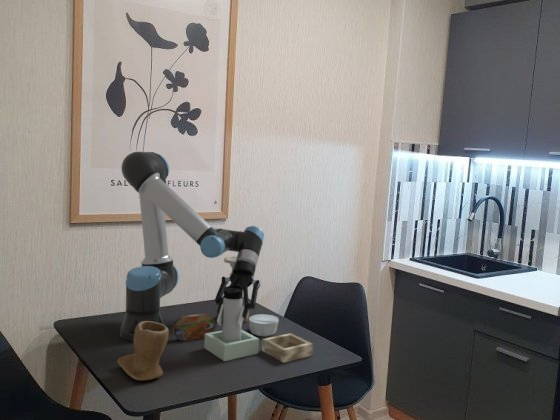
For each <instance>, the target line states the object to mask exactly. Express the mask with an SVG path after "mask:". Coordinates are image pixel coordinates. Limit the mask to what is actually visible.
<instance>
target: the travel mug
mask: <svg viewBox="0 0 560 420" xmlns="http://www.w3.org/2000/svg"><path fill="white" fill-rule="evenodd" d="M242 294H243V288H242V287H240V285H234V286H229V285H228V286H226V287H225V288H224V294H223V296H224V299H223V321H222V330H221V331H222V341H223V342H225V343H226V344H227V343H232V342H237V341H241V329H242V326H241V328H239V327H238V325H237V322H238V319H239V315H240V311H241V308H242V306H243V303H242V301H244V295H242Z"/></svg>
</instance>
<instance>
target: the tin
mask: <svg viewBox="0 0 560 420" xmlns="http://www.w3.org/2000/svg"><path fill="white" fill-rule="evenodd" d="M215 330H216V321H215V319H214V317H213V316H211V315H209V314H207V313H198V314H191V315H183V316H180V317H178V318H177V319H175V321H174V323H173V325H172V332H173V335H174V336H175V337H176V339H178V340H179V341H182V342H183V341H184V342H185V341H187V342H188V341H192V340H194V341H195V340H201V339H205V334H206V333H211V332H215Z"/></svg>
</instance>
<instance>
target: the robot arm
mask: <svg viewBox="0 0 560 420" xmlns="http://www.w3.org/2000/svg"><path fill="white" fill-rule="evenodd" d="M121 173H122V176H123V178H124V179H125V181H126V182H127V184H129V185H130V186H131V187H132V188H133V189H134V191H136V192H137V193H138V196H139V205H140V207H139V208H140V217H141V226H142V228H141V229H142V236H143V237H142V238H143V249H144V258H143V260H142V261H141V263H140V264H141V266H139V267H137V266H136V267H134V268H131V269H130V270H129V271H128V272H127V274H126V279H125V315H124V317H123V320H122V324H121V326H120V332H119V336H120V338H121V339H123V340H125V341H130V342H133V340H134V333H135V328H136V326H137V324H139V323H140V322H142V321H153V322H157V323H161V324H163V325H164V321H163V319H162V316H161V310H160V309H161V298H162V297H164V296H166V295H167V294H168V295H169V294H170V293H171V292H172V291H173V290H174V289H175V288H176V287H177V285H178V282H179V272H178V269H177V267H175V265H174V259H173V257H172V256H170V255H169V247H168V246H169V245H168V237H167V224H166V216H168V218H170V220H172V221H173V223H175V225H177V226H178V227H179V228H180V229H181V230H182V231H184V233H186V234H187V235H188V237H190V238H191V239H192V240H193V241H194V242H195V243H196V244H197V245H198V246H199V247H200V251H201V253H202V255H203V256H204V257H206V258H210V259H213V258H217V257H219V256H221V255H223V254H224V253H226V252H227V251H229V252H236V253H237V254H236V255H237V256H236V257H237V258H236V263H235V265H234V268H233V272H232V271H231V272H232V275H231V276H230V275H229V276H228V277H226V276H222V277H221V284H220V285H219V288H218V290H217V293H216V295H215V299H214V302H215V304H216V305H217V310H216V313H217V319H216V322H217V326H222V324H223V321H222V320H223V299H224V288H225V287H227V285H228V284H229V282H230V284H229V285H230V286H234V285H240V287H242V288H243V293H244V295H243V301H244V302H243V303H244V305H242V308H241V311H240V315H239V319H238V322H237V325H238V327H239V328H241V329H242V327H241V326H242V325H243V323H244V322H243V318H246V317H247V314H248V310H249V311H250V310H251V309H252V310H255V308H256V303H257V298H258V291H259V288H260V287H261V282H260V280H259V279H256V280H255V279H254V277H255V272H256V269H257V266H258V263H259V262H258V261H259V257H260V253H261V250H262V246H263V243H264V238H265V233H264V231H263V229H261V228H259V227H258V226H255V225H251V226H247V227H245V229H244V230H243V231H242V230H241V231H239V230H231V229H223V228H217V227H216V228H214V227H212V226H211V225H210V224H209V223H208V221H206V220H205V219H204V218H203V217H202V216H201V215H200V214H199V213H197V211H195V210H194V209H193V208H192V207H191V206H190V205H189V204H188V203H187V202H186V201H185V200H184V199H182V197H181V196H179V195H178V194H177V192H175V191H174V190H173V189H172V188H171V187H170V186H169V185H168V184H167V178H168V176H169V174H170V165H169V162H168V160H167V159H166V158H165V157H164V156H163V155H161V154H159V153H157V152H154V151H153V152H152V151H134V152H131V153H129V154H127V155H126V156H125V158H124V159H123V160H122V163H121ZM250 286H253V287H252V291H251V297H250V301H249V290H248V288H249V287H250Z"/></svg>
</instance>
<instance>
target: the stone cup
mask: <svg viewBox="0 0 560 420" xmlns="http://www.w3.org/2000/svg"><path fill="white" fill-rule="evenodd" d="M169 333H170V332H169V328H168V327H167V326H166V325H165V324H164V323H163V324H161V323H157V322H153V321H142V322H140V323H139V324H137V326H136V328H135V333H134V340H133V341H132V342H133V350H134V353H131V354H126V355H123V356H121V357H120V358H119V357H118V359H117V364H118V365H119V367H121V368H122V370H123V371H124V372H125V373H126V374H127V375H128V376H130V378H132V379H133V380H136V381H150V380H154V379H157V378H160V377H162V376H163V374H164V370H163V369H162V366H161V365H160V359H161V356H162V354H163V352H164V350H165V348H166V345H167V344H168V340H169Z"/></svg>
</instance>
